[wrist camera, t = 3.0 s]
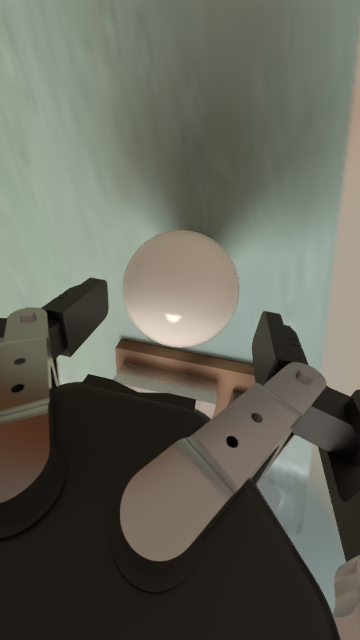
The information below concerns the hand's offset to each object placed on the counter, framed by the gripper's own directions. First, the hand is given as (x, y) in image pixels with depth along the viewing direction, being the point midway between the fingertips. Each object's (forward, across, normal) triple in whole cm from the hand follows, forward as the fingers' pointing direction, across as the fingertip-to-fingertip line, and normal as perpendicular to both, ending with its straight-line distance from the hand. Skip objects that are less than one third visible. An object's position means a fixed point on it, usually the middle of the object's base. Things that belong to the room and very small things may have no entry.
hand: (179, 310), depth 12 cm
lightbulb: (+10, 0, 0) cm, 10 cm away
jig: (+10, -1, +18) cm, 20 cm away
